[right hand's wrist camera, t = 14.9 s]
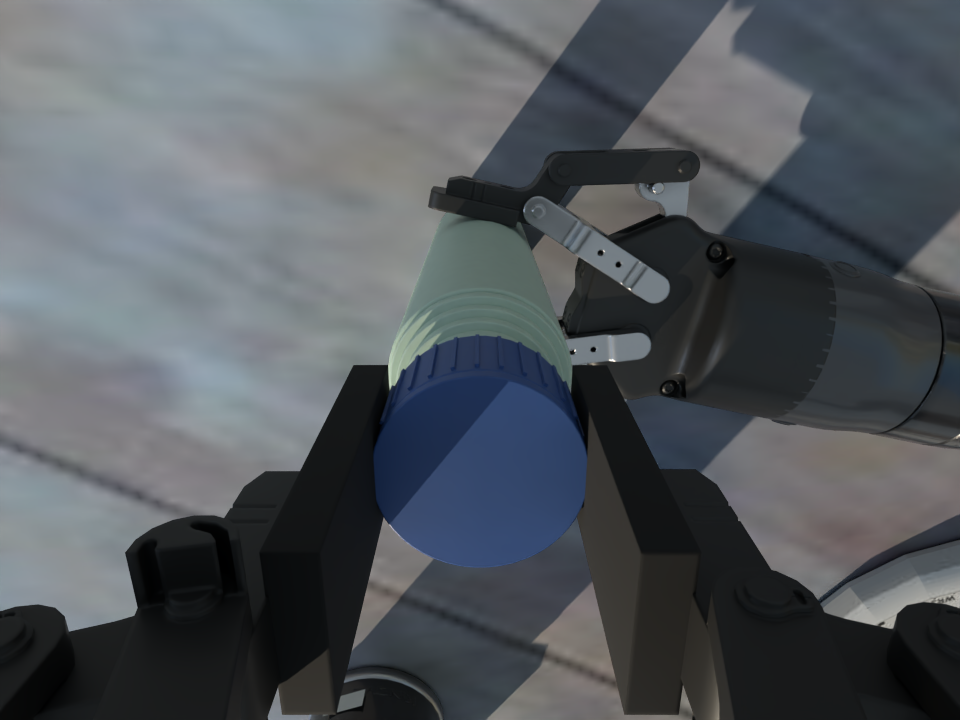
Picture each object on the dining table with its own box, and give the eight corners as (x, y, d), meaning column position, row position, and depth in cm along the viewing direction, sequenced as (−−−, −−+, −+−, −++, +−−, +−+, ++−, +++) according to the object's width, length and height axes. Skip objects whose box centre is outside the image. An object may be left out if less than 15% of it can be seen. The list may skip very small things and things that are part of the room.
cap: (399, 315, 14) (383, 353, 12) (597, 351, 14) (619, 395, 12) (372, 488, 15) (354, 552, 13) (552, 517, 15) (563, 585, 13)
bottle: (541, 224, 34) (650, 415, 12) (499, 303, 36) (529, 597, 14) (459, 181, 34) (421, 304, 12) (419, 263, 35) (319, 510, 13)
